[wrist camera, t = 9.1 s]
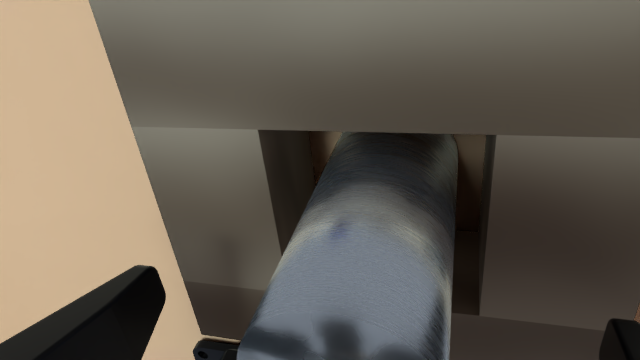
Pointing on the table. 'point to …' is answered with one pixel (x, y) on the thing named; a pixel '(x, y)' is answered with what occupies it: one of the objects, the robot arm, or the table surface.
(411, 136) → the steel peg
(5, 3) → the table surface
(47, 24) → the table surface
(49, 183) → the table surface
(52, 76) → the table surface
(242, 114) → the hitch block
